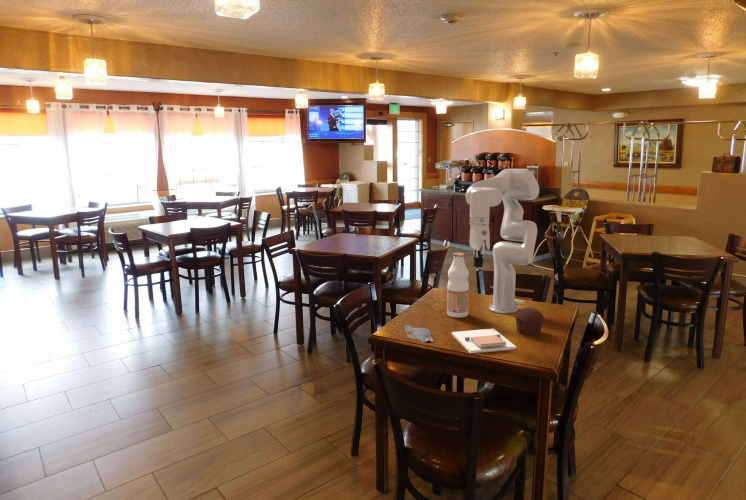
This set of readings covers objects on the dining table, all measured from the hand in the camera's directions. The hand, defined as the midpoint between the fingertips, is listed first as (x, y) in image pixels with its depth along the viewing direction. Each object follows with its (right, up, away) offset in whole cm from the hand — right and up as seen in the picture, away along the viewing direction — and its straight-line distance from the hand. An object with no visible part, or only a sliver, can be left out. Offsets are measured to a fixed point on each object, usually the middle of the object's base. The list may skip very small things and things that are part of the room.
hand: (478, 266), depth 207 cm
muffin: (+21, -27, +3) cm, 34 cm away
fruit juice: (-4, -23, +27) cm, 35 cm away
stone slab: (-24, -28, +3) cm, 37 cm away
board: (+1, -29, -6) cm, 29 cm away
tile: (+2, -27, -11) cm, 29 cm away
